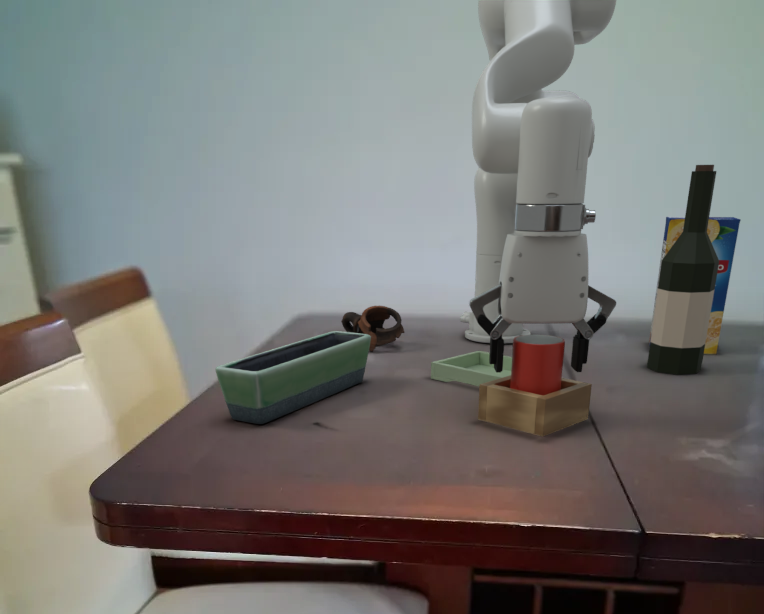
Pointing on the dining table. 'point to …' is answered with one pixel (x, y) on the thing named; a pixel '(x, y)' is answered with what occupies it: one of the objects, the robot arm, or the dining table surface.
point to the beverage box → (724, 244)
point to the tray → (469, 368)
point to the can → (537, 363)
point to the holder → (534, 406)
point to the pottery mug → (374, 325)
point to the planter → (293, 375)
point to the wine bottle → (686, 286)
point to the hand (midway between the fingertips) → (536, 369)
